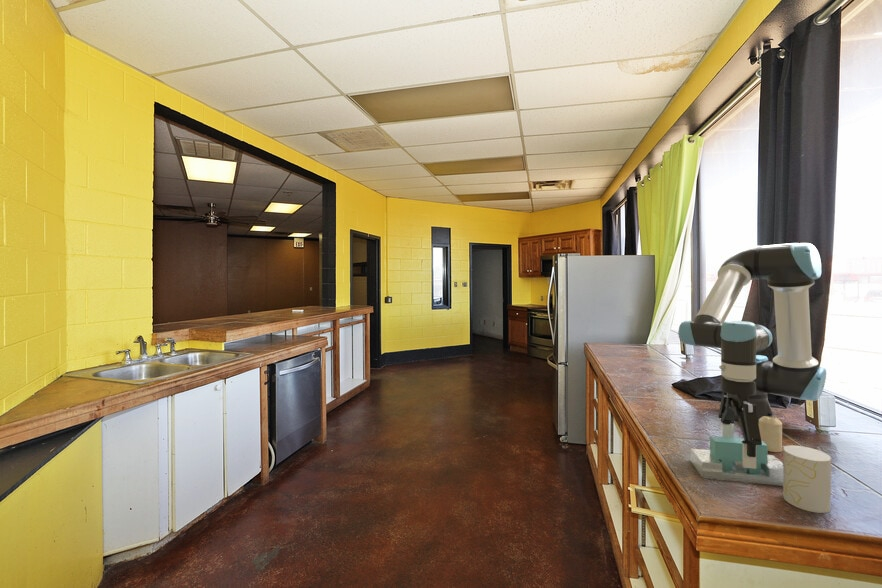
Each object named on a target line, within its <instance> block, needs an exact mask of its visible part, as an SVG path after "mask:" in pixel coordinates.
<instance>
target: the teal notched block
mask: <svg viewBox="0 0 882 588" xmlns="http://www.w3.org/2000/svg"><path fill="white" fill-rule="evenodd" d="M743 440H744V438H741V437H739V438H737V437H734V438H727V437H722V436H713V435H712V436H709V450H710V454H711V455H712V456H713V457H714V459H717V460H719V461H720V462H721V463H722V471H731V472H732V461H740V462H743V443H742V442H741V441H743ZM768 453H769V451H768V445H766V444H765V443H764V442H763V441H762V445H756V469H754V468H746V470H747V471H748V472H749V473H751V474H761V463H762V464H768V455H769V454H768Z"/></svg>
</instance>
